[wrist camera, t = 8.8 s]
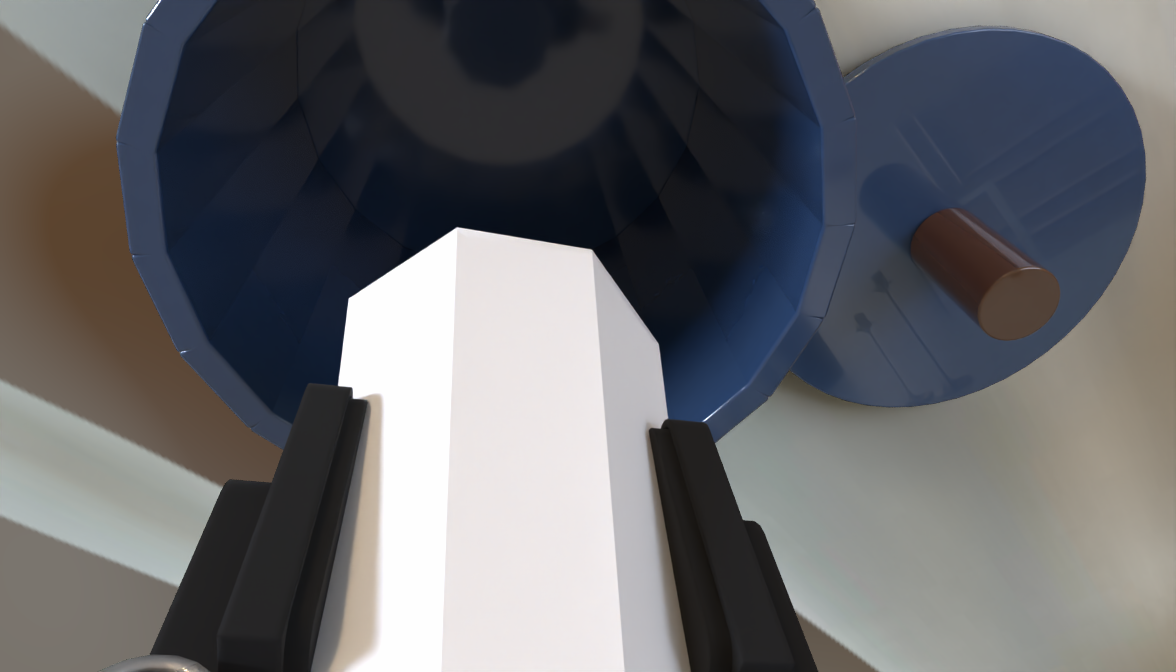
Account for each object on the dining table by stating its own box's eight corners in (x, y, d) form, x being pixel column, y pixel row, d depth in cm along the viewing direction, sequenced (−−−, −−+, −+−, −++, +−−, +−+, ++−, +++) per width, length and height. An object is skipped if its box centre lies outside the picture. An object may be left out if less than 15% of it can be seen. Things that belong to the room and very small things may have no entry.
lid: (1157, -16, 27) (1318, 14, 22) (1094, 355, 35) (1202, 445, 29) (721, 67, 27) (776, 118, 22) (750, 420, 35) (796, 523, 29)
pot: (692, -208, 24) (857, -262, 13) (730, 241, 31) (857, 451, 20) (205, -114, 24) (-42, -90, 13) (355, 313, 31) (278, 561, 20)
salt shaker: (275, 415, 14) (-194, 1590, 5) (437, 151, 12) (212, 1257, 3) (544, 535, 16) (609, 1539, 6) (722, 325, 14) (1198, 1327, 4)
